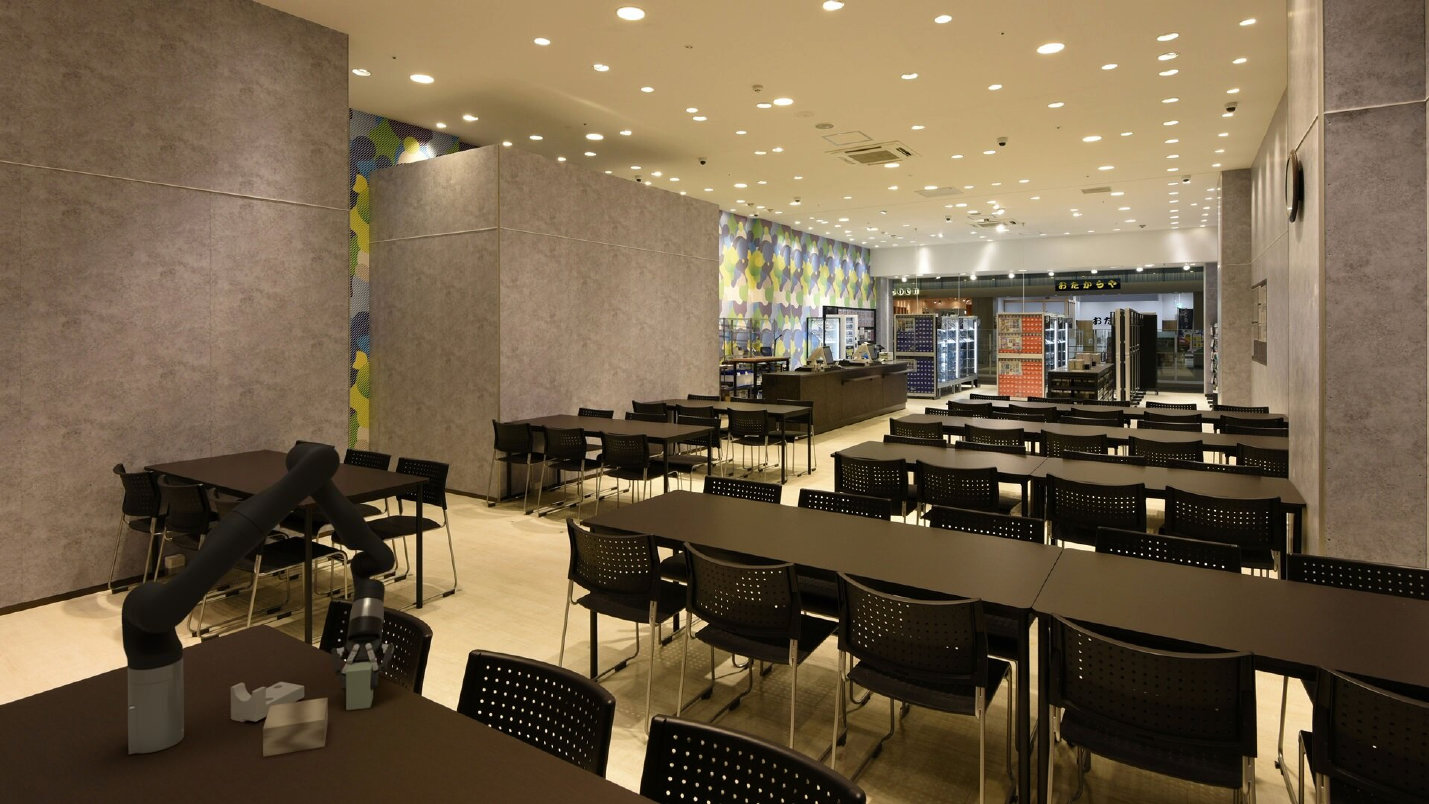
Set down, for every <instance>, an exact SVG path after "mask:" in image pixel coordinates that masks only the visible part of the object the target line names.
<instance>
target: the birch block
mask: <svg viewBox="0 0 1429 804" xmlns="http://www.w3.org/2000/svg"><path fill="white" fill-rule="evenodd" d="M328 701H329V698H328V697H322V698H315V699H308V700H302V701H295V702H293V703H286V704H279V705H272V706H270V708H269V711H268V715H267V716H266V717H265V718H266V719H265V721H264V725H263V728H262V753H263V754H262V755H263V757H270V756H276V755H280V754H288V753H289V754H290V753H293V752H300V751H307V750H311V749H318V748H324V747H325V746H326V745H325V744H326V738H327V737H326V736H327V731H328V725H329V723H328V722H329V715H328V711H329V709H328V708H329V705H328V704H329V702H328Z"/></svg>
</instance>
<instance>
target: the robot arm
mask: <svg viewBox="0 0 1429 804" xmlns="http://www.w3.org/2000/svg"><path fill="white" fill-rule="evenodd" d="M340 464H341V458H340V454H339V452H338V451H337V450H336V449H335V448H333V447H332V446H329V445H326V444H321V443H313V442H312V443H311V442H308V443H307V442H306V443H299V444H296V445H294V446H293V447H292V448H291V449H289V451H288V452H287V454H286V455H285V467H286V470H287V473H286V474H285V475H284V476H283V477H282V478H280V479H279V480H278V481H276V482H275V483H273V484H272V485H271V486H269V487H267V488H266V489H264V490H262V491H260V492H258V493H255V494H254V495H253V496H251V497H249V498H247V499H245V500H244V501H242V502H240V503H239V504H238V505H236V506H234V508H232V509H231V510H230V511H229V512H228V513H227V514H225V516H224V517H222V518H220V520H219V521H217V523H215V524H214V525H213V527H212V528H211V529H210V530H209V532H207V534H206V536H205V538H204V539H203V542H202V543H201V545H200V546H199V548H198V550H197V552H196V553H195V555H194V556H193V558H192V559H191V560H190V561H189V562H188V564H187V565H185V567H184V568H182V569H181V570H180V571H179V572H178V573H177V574H176V575H174V576H173V577H172V578H171V579H169V580H168V581H167V582H166V583H163V582H160V581H146V582H143V583H141V584H138V585H137V586H134V587H133V588H132V589H131V590H130V591H129V592H128V593H127V595H126V597H125V598H124V600H123V603H122V607H121V633H122V636H121V637H122V645H123V646H122V647H123V651H124V654H125V656H126V661H127V665H126V666H127V728H128V729H127V730H128V731H127V733H128V734H127V735H128V739H127V740H128V742H127V744H128V746H127V748H128V751H127V752H128V755H133V754H149V753H155V752H158V751H162V750H165V749H169V748H171V747H174V746H175V745H177V744H179V743H180V742H181V741H182V740H183V739H184V738H185V717H184V716H185V713H184V710H185V709H184V708H185V707H184V705H185V702H184V701H185V700H184V697H185V696H184V647H183V643H182V641H181V639H180V638H179V636H178V633H177V630H176V627H177V626H178V625H180V624H181V623H182V622H183V621H184V620H186V619H187V617H188V616H189V615H190V614H191V613H192V612H193V610H194V609H195V608H196V607H197V606H198V605H199V603H200V602H201V601H202V600H203V599H204V597H205V596H207V594H208V593H209V592H210V591H211V590H212V588H213V587H215V585H216V584H217V583H218V582H219V581H220V580H222V579H223V578H224V577H225V576H226V575H227V574H229V572H230V571H231V570H233V569H234V567H235V566H236V565H237V564H238V563H239V562H241V561H242V559H244V557H245V556H247V555H248V554H249V553H251V551H253V550H254V549H255V548H256V547H257V546H258V545H259V544H260V543H261V542H262V541H263V540H264V539H265V538H267V536H268V535H270V534H271V532H272V531H273V530H274V529H275V528H277V526H278V525H280V523H282V521H284V520H285V519H286V518H287V517H288V516H289V514H291V513H292V512H293V511H294V510H295V509H296V508H297V507H298V506H299V505H300V504H301V503H302V502H304V501H305V500H306V499H307V498H309V497H310V498H311V499H312V500H313V502H314V503H315V504H316V505H317V507H318V508H319V509H320V510H321V512H322V513H323V515H324V516H325V518H326V519H327V520H328V523H330V525H331V527H332V528H333V530H334V531H335V533H336V535H337V536H338V537H339V540H340V541H341V542H342V544H343V545H344V547H345V549H347V550H348V551H352V552H353V551H359V552H357V553H355V554H354V555H353V556H352V558H351V559H350V563H349V567H350V573H351V576H352V583H353V590H354V592H353V599H352V607H351V610H350V614H349V621H348V622H349V623H348V631H347V637H346V638H347V639H346V643H345V644H344V646H343V647H340V648H337V647H332V649H330V652H331V658H332V659H331V660H332V666H333V670H334V671H333V672H334V674H335V676H338V677H339V676H340V677H341V681H340V682H341V683H340V688H341V691H343V693H345V694H346V671H347V669H348V667H349V665H352V664H353V663H358V662H371V663H372V669H373V670H372V673H371V683H370V689H371V690H373V691H374V690H375V688H377V687H378V684H379V683H378V682H379V674H380V673H381V672H387V671H388V669H389V667H390V666H389V665H390V663H391V660H392V658H393V654H394V651H395V647H394V644H393V642H392V643H391V642H390V643H388V644H386V643H384V642H382V635H383V626H384V625H383V624H384V620H385V618H384V616H385V615H384V611H385V609H384V608H385V607H384V603H385V602H384V601H385V595H386V594H385V592H386V589H385V587H386V586H385V583H384V582H383V581H382V580H379V579H376V578H371V577H376V576H378V575H382V574H385V573H388V572H390V571H392V570H393V569H394V568H395V564H396V556H395V553H394V552H393V550H392V548H391V547H390V546H389V545H388V544H387V543H386V542H385V541H384V540H382V539H381V537H379V535H377V534H376V533H375V532H373V531H372V530H371V528H370V526H369V524H368V523H367V521H366V520H365V518H364V516H363V515H362V512H360V511H359V509H358V508H357V507H356V506H355V505H354V503H352V501H350V500H349V498H347V497H346V496H345V495H344V493H342V491H340V489H339V488H338V486H337V485H336V484H335V482H334V481H333V479H332V478H333V477H334V476H335V475H336V473H337V472H338V470H339V469H340ZM382 650H383V654H384V655H383V659H382V662H381V663H380V664H378V662H377V659H376V657H377V656H378V655H379V653H380V652H381V651H382ZM344 653H345V654H346V656H347V657H348V658H347V659H346V660H345V665H344V666H343V667H341V663H340V659H341V658H343V654H344Z"/></svg>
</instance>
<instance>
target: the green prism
mask: <svg viewBox="0 0 1429 804" xmlns="http://www.w3.org/2000/svg"><path fill="white" fill-rule="evenodd" d="M372 670H373V669H372V663H371V662H358V663H353V664H352V665H349V667H348V669H347V671H346V693H345V694H346V697H345V698H346V699H345V700H346V701H345V702H346V703H345V704H346V705H345V706H346V711H352V710H361V709H369V708H371V706H372V703H373V699H374V690H371V689H370V683H371V673H372Z"/></svg>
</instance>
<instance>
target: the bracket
mask: <svg viewBox="0 0 1429 804" xmlns="http://www.w3.org/2000/svg"><path fill="white" fill-rule="evenodd" d="M304 697H305V686H304V685H300V684H295V683H289V682H285V681H284V682H283V681H279V682H277V683H275V684H272V685H270V686H269V687H266V686H261V687H258V688H256V689H255V690H253V691H252V692H251V694H250V693H249V692H248V691H247V688H246V683H245V682H240V683H237V684H235V685H233V686H231V687H230V719H232V721H237V722H241V723H244V722H246V721H251V722H258V721H259V720H261V719H264V718H267V715H268V711H269V708H270V706H272V705H279V704H286V703H293V702H298V701H299V700H301V699H303V698H304Z"/></svg>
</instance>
